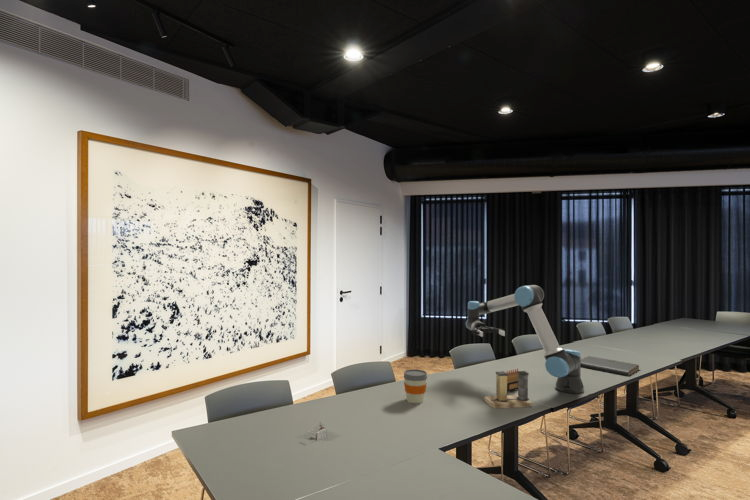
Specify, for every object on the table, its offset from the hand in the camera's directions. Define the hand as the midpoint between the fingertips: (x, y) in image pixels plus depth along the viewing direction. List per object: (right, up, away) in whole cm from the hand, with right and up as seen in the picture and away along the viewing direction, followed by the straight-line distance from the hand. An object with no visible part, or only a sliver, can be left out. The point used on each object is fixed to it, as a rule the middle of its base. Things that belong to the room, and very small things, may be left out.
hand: (493, 334), depth 246 cm
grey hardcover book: (+92, -34, +46) cm, 109 cm away
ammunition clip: (+10, -32, -3) cm, 34 cm away
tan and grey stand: (+1, -32, -24) cm, 40 cm away
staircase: (-94, -32, -66) cm, 119 cm away
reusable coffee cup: (-48, -32, -20) cm, 61 cm away
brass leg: (-3, -30, -25) cm, 38 cm away
